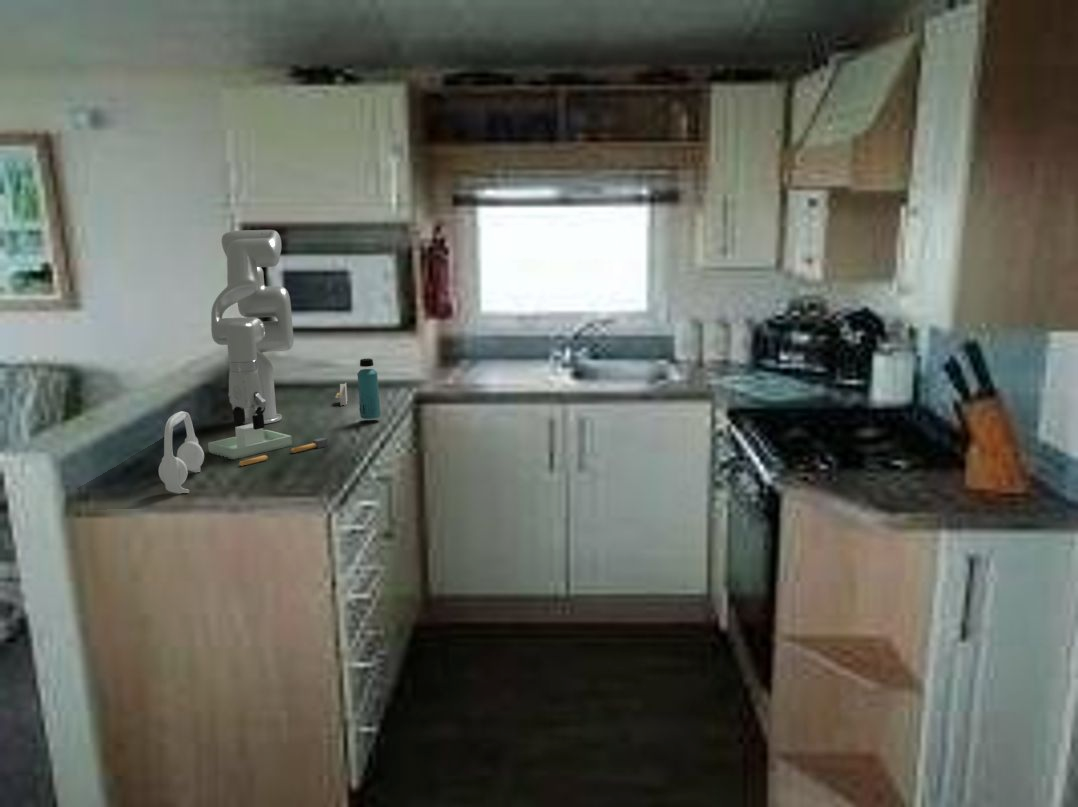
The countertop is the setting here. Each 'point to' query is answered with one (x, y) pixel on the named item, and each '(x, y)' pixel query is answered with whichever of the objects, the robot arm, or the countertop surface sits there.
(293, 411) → the countertop surface
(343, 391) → the architectural model
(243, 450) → the tray
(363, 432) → the countertop surface
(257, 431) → the pale grey cuboid
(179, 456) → the headset
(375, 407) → the beverage bottle
